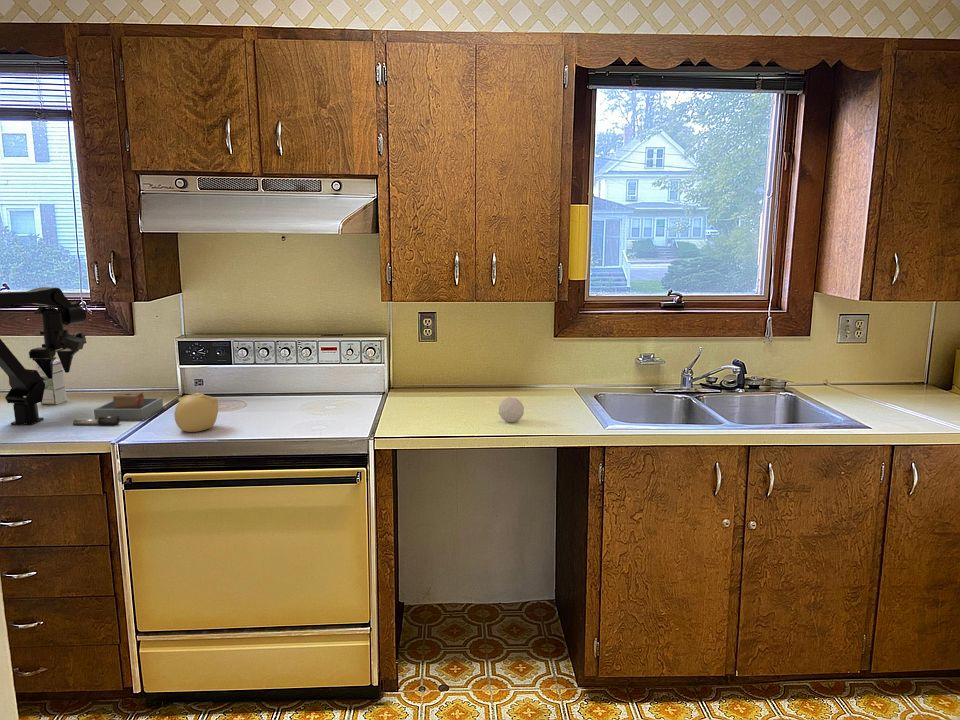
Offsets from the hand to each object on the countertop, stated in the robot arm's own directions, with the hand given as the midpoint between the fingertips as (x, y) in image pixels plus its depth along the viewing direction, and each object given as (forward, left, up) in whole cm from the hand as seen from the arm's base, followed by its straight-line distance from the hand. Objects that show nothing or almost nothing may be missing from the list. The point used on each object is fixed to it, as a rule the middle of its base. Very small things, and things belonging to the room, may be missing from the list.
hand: (59, 375), depth 224 cm
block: (-3, -23, -12) cm, 26 cm away
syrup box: (+12, +10, -12) cm, 20 cm away
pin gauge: (-15, -19, -12) cm, 27 cm away
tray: (-3, -23, -12) cm, 26 cm away
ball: (-13, -144, -12) cm, 145 cm away
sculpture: (-20, -51, -12) cm, 56 cm away
